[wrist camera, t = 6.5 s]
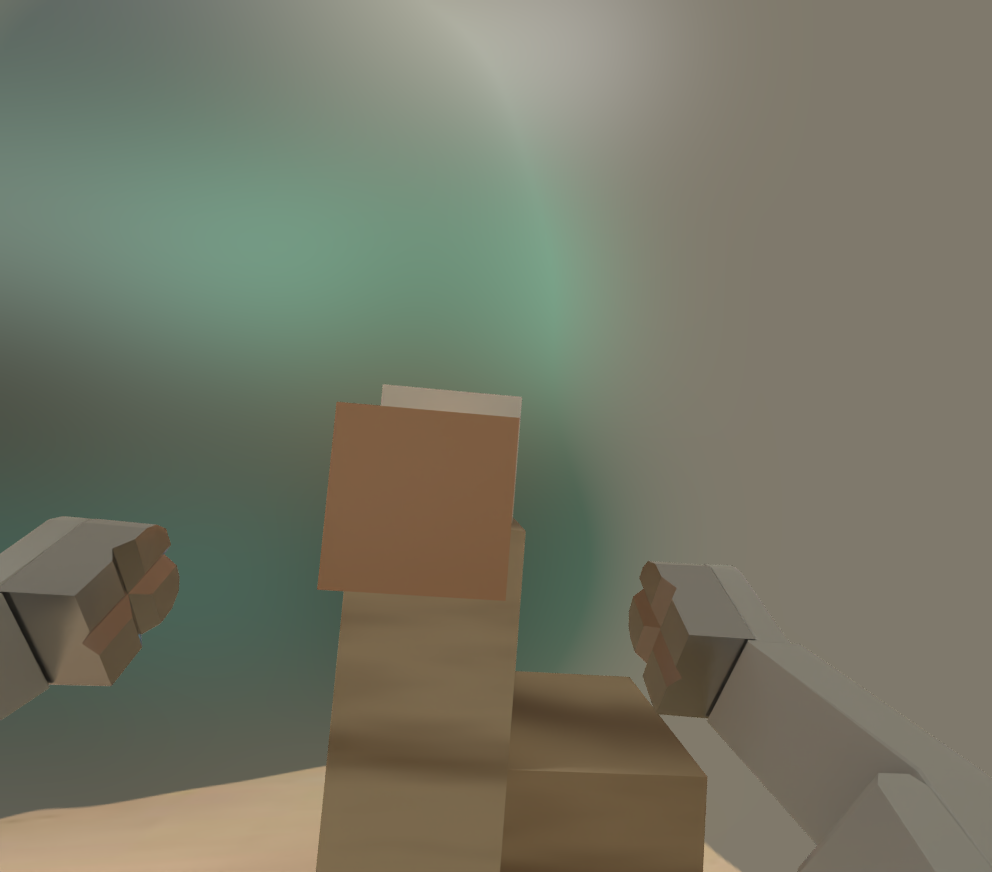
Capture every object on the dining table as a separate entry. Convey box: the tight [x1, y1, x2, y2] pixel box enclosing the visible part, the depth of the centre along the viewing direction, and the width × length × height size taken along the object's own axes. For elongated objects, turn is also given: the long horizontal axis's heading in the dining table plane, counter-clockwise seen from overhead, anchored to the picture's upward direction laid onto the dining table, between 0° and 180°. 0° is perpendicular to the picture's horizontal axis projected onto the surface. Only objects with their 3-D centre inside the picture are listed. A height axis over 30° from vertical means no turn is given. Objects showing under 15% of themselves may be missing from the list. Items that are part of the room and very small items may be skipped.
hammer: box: [317, 384, 522, 601], centre depth 16 cm, size 16×6×5 cm, turn 4°
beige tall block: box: [316, 518, 707, 872], centre depth 19 cm, size 8×13×26 cm, turn 94°
